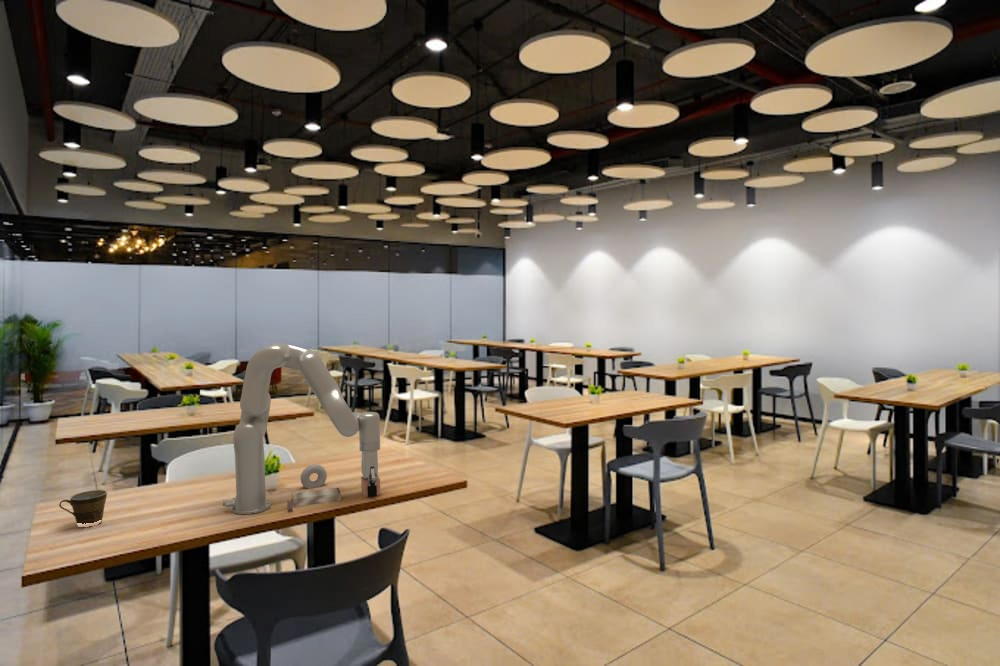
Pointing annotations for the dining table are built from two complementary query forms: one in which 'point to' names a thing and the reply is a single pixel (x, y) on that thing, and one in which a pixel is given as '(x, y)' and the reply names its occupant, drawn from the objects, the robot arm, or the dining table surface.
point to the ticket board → (314, 497)
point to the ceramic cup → (87, 506)
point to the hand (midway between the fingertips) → (370, 492)
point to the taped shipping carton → (365, 486)
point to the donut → (310, 470)
